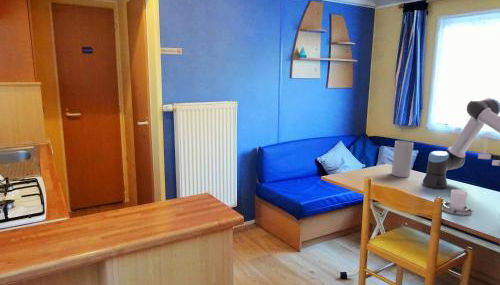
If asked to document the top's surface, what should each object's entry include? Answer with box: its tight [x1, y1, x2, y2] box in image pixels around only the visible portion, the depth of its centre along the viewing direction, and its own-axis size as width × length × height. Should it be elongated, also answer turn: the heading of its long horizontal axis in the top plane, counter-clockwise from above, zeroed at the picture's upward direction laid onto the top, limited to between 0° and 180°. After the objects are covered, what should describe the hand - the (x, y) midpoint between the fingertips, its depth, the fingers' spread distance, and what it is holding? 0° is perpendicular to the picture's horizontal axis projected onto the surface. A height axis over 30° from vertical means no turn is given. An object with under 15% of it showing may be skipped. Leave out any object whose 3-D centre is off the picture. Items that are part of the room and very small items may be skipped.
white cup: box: [449, 189, 469, 210], centre depth 199 cm, size 8×8×10 cm
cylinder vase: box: [391, 140, 414, 178], centre depth 265 cm, size 12×12×25 cm
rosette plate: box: [442, 200, 474, 217], centre depth 201 cm, size 16×16×3 cm
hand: (485, 159), depth 200 cm, fingers open, 13 cm apart
